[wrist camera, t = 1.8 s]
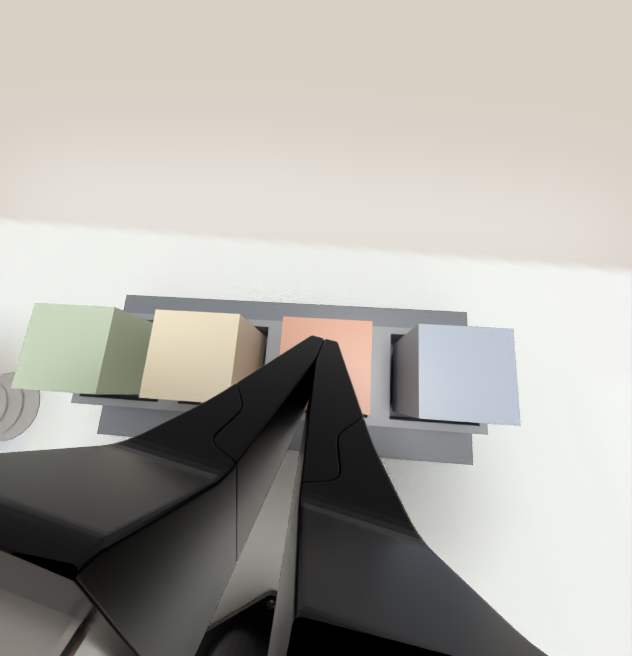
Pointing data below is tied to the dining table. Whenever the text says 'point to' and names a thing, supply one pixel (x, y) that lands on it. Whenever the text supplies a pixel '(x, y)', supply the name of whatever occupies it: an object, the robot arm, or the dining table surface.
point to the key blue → (456, 374)
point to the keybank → (383, 424)
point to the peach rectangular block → (351, 341)
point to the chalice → (15, 408)
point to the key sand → (199, 354)
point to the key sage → (83, 350)
